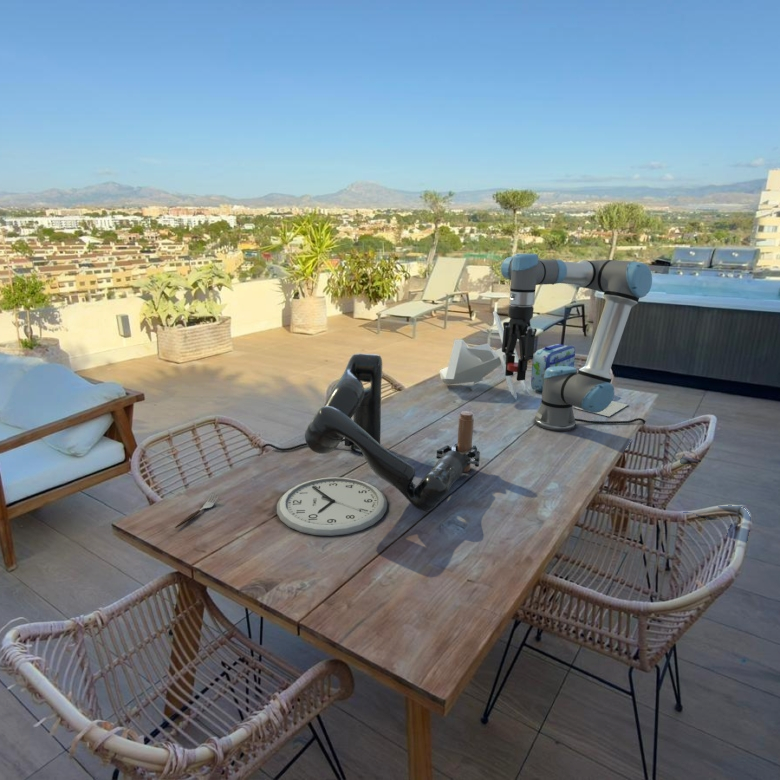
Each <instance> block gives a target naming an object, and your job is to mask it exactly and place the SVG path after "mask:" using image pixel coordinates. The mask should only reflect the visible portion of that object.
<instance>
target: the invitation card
mask: <svg viewBox="0 0 780 780" xmlns="http://www.w3.org/2000/svg"><path fill="white" fill-rule="evenodd" d="M628 406H629V404H627V403H623V402H618V401H614V400H612V401H611V403H610V404H609V406H608V407H607V408H606V409H604V410H603V411H601V412H597V413H594V412H590V411H587V413H593V414H596V415H600V416H604V417H608V418H609V417H611V416H613V415H614V414H616V413H617V412H619V411H621V410H623V409H624V408H626V407H628ZM573 409H575V410H581V411H584V412H586V411H585V410H583V409H581V408H578V407H576V406H573Z"/></svg>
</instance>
